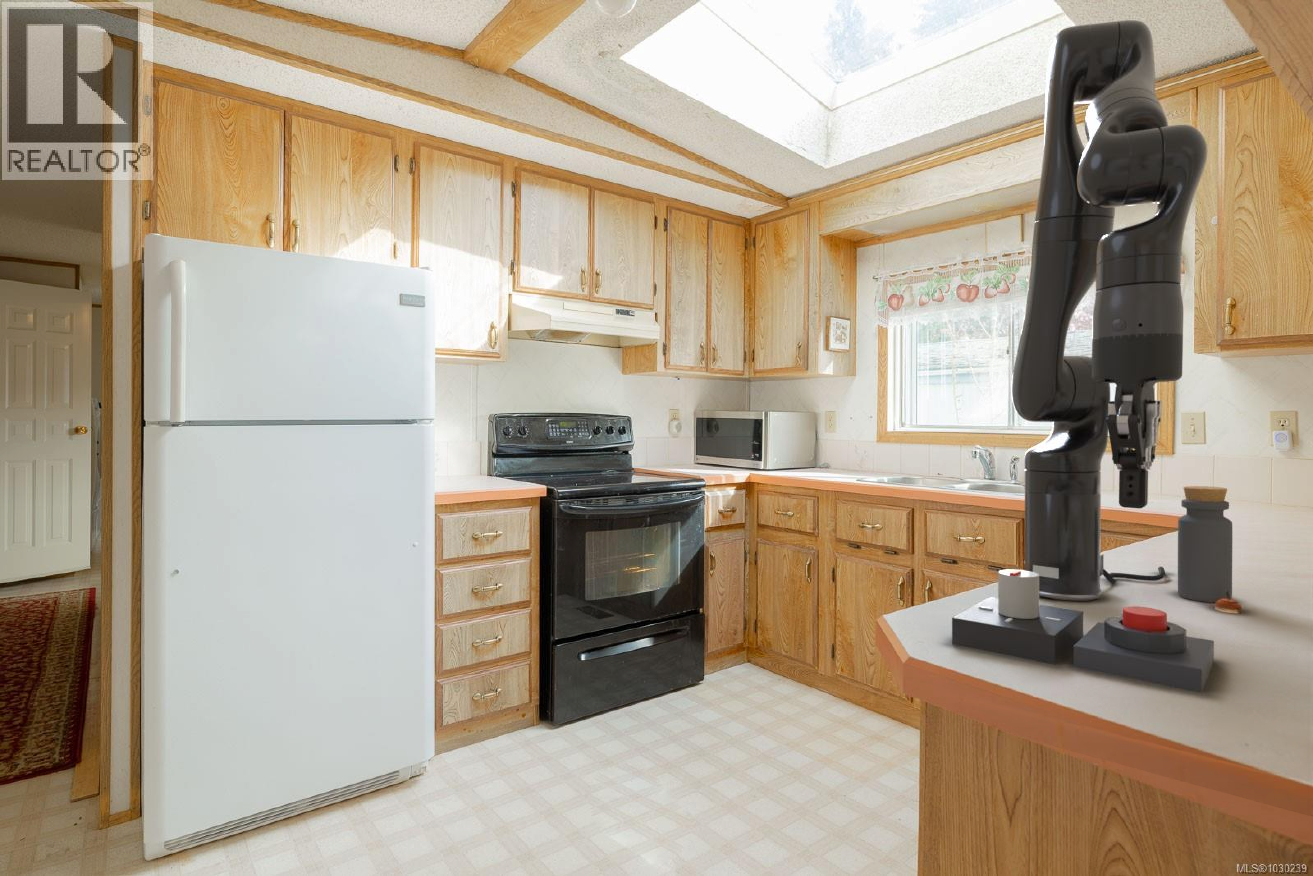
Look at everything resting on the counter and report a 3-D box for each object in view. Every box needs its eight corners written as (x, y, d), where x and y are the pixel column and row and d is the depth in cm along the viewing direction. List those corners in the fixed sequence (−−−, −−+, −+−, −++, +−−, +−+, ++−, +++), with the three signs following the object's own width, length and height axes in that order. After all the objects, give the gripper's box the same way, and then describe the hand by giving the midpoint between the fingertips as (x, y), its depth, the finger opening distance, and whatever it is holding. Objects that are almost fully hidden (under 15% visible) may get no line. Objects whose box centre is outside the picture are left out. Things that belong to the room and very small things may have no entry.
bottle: (1242, 603, 92) (1242, 489, 92) (1191, 601, 94) (1192, 489, 93) (1216, 593, 98) (1217, 485, 98) (1169, 591, 99) (1169, 485, 99)
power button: (1126, 621, 72) (1126, 604, 72) (1169, 628, 70) (1169, 610, 70) (1119, 629, 70) (1119, 611, 70) (1163, 636, 67) (1163, 618, 67)
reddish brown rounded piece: (1208, 608, 91) (1208, 587, 90) (1226, 606, 91) (1226, 586, 91) (1231, 614, 88) (1231, 593, 88) (1250, 612, 88) (1250, 591, 88)
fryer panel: (988, 621, 85) (988, 595, 85) (1083, 638, 79) (1083, 609, 79) (951, 645, 77) (951, 616, 77) (1054, 666, 70) (1054, 634, 70)
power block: (1097, 641, 77) (1098, 605, 77) (1213, 662, 70) (1214, 622, 70) (1073, 668, 69) (1073, 627, 69) (1201, 694, 62) (1201, 649, 62)
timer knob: (1005, 607, 80) (1005, 565, 80) (1044, 613, 78) (1044, 570, 77) (992, 614, 78) (992, 570, 77) (1032, 621, 75) (1032, 576, 75)
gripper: (1172, 325, 63) (1168, 518, 64) (1191, 336, 73) (1188, 503, 73) (1076, 332, 68) (1074, 510, 69) (1107, 341, 78) (1104, 498, 78)
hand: (1133, 506), depth 71 cm, fingers closed
